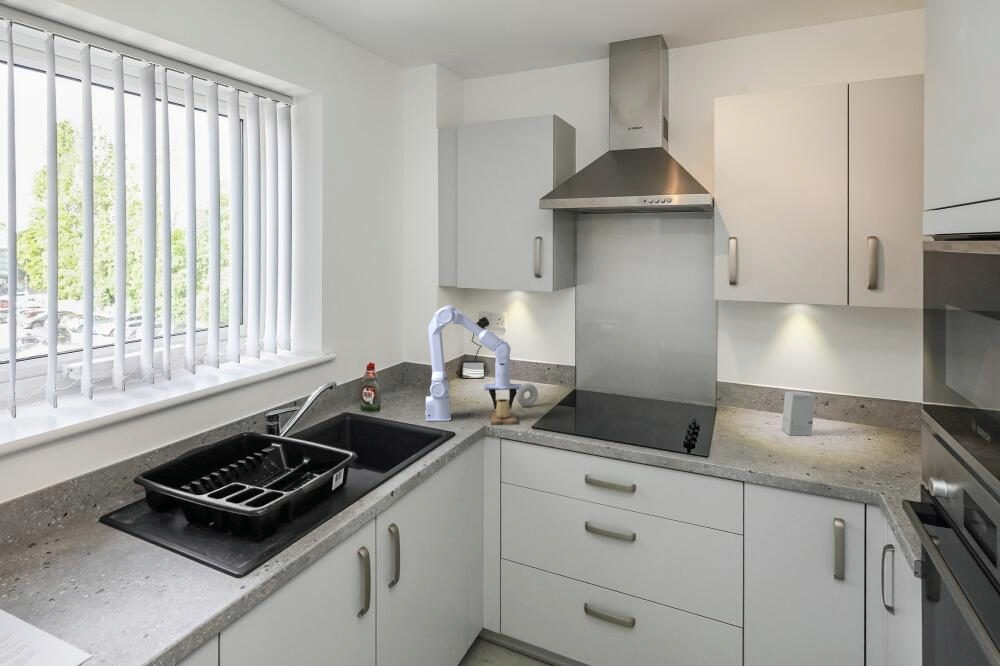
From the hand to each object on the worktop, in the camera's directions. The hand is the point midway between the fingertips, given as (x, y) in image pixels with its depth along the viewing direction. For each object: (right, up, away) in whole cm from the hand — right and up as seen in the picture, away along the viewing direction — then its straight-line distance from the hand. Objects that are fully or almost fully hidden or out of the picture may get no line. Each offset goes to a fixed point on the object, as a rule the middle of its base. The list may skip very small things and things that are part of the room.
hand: (502, 408), depth 216 cm
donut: (+10, -2, +19) cm, 22 cm away
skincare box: (+106, -7, -15) cm, 107 cm away
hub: (0, -3, 0) cm, 3 cm away
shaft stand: (0, -5, +1) cm, 5 cm away
